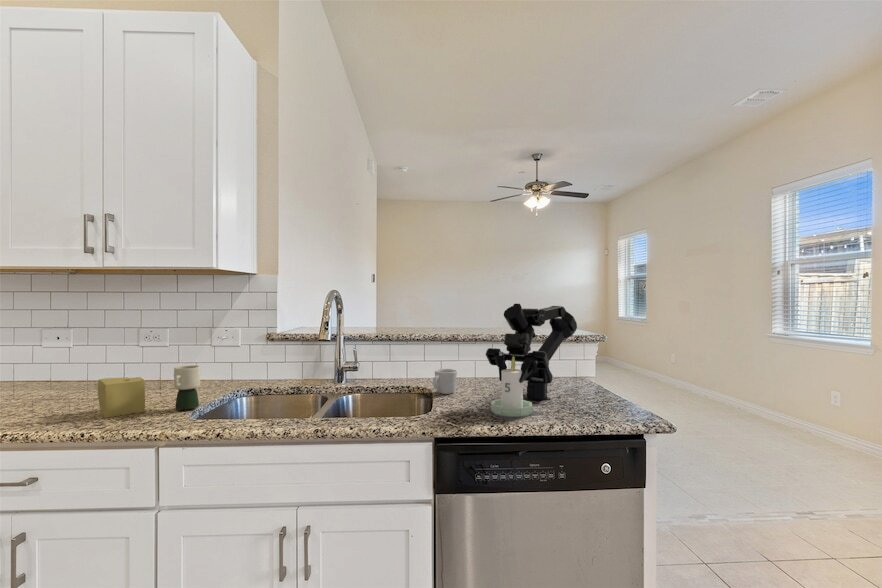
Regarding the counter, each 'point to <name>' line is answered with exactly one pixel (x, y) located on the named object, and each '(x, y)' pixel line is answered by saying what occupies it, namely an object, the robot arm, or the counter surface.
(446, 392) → the cup
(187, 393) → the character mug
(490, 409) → the mat
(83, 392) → the counter surface
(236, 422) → the counter surface
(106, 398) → the cheese
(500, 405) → the dish
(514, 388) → the candle
